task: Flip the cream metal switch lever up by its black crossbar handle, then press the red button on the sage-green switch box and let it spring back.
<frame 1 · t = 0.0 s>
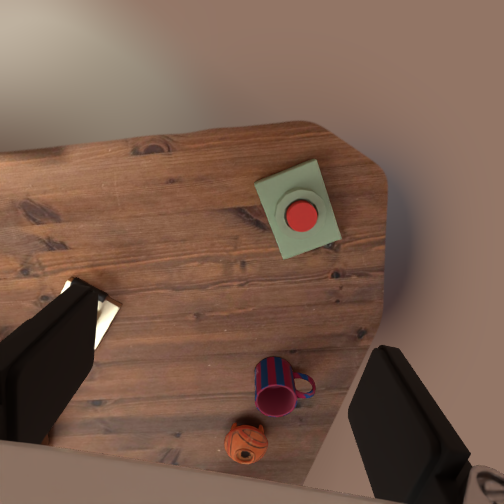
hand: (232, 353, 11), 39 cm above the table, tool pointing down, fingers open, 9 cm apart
switch box: (297, 209, 49), on the table
switch bracket: (83, 315, 55), on the table
cup: (282, 371, 59), on the table
pot: (246, 427, 63), on the table
switch lever: (68, 323, 46), point 8 cm above the table, hinge at -25.0°
button: (301, 216, 45), point 4 cm above the table, slide at 0.1 cm
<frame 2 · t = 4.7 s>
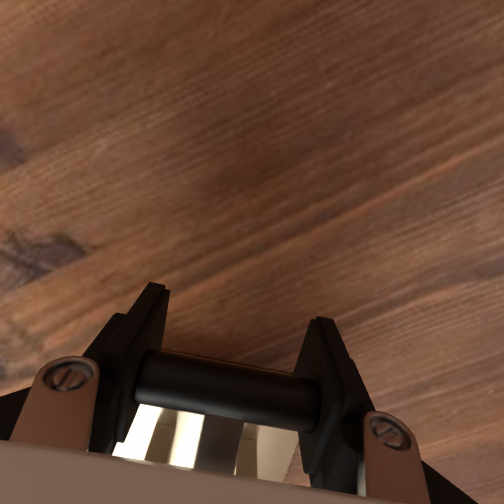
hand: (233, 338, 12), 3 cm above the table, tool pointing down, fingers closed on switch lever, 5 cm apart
switch bracket: (202, 442, 18), on the table
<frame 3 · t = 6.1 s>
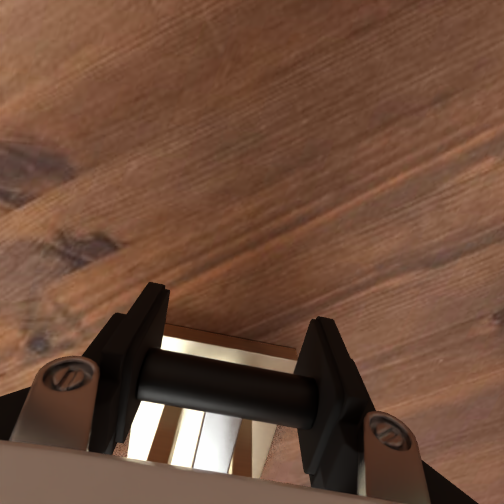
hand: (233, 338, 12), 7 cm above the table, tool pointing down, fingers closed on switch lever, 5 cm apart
switch bracket: (208, 404, 22), on the table
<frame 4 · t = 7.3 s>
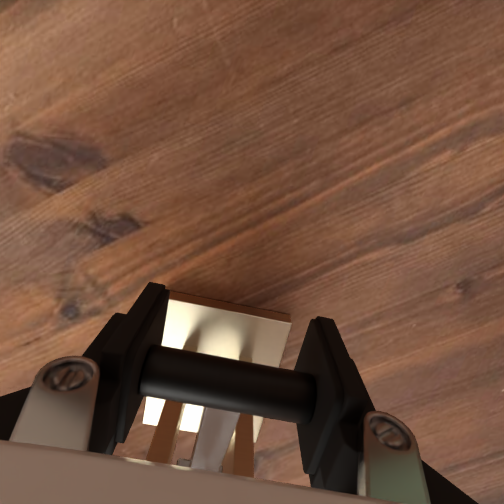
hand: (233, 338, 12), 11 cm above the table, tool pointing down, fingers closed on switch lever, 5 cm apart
switch bracket: (214, 365, 25), on the table
switch lever: (205, 459, 13), point 11 cm above the table, hinge at 17.5°, touching gripper
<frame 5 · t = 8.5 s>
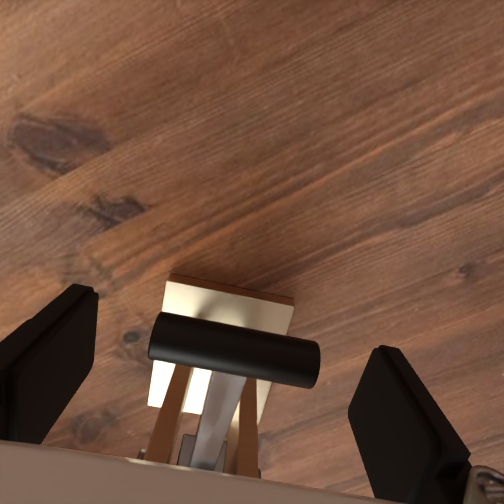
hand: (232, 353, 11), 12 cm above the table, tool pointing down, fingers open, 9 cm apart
switch bracket: (218, 349, 25), on the table
switch lever: (211, 430, 13), point 11 cm above the table, hinge at 16.6°
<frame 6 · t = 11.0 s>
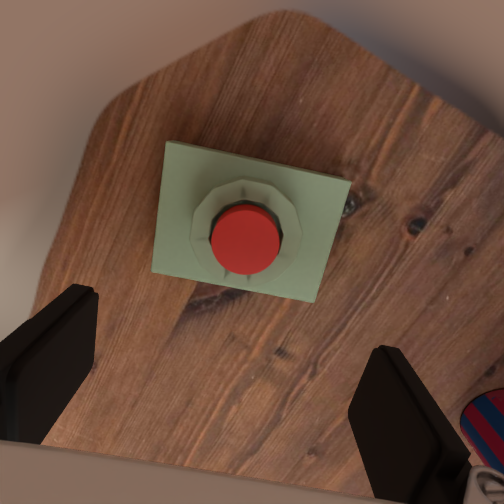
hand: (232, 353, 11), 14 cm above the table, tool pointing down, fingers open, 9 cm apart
switch box: (246, 220, 24), on the table
button: (245, 239, 20), point 4 cm above the table, slide at 0.1 cm
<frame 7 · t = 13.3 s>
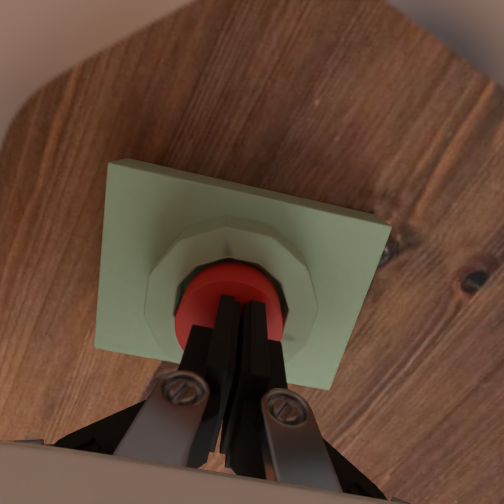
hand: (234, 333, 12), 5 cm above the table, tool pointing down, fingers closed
switch box: (235, 272, 17), on the table
button: (230, 316, 13), point 4 cm above the table, slide at 0.0 cm, touching gripper
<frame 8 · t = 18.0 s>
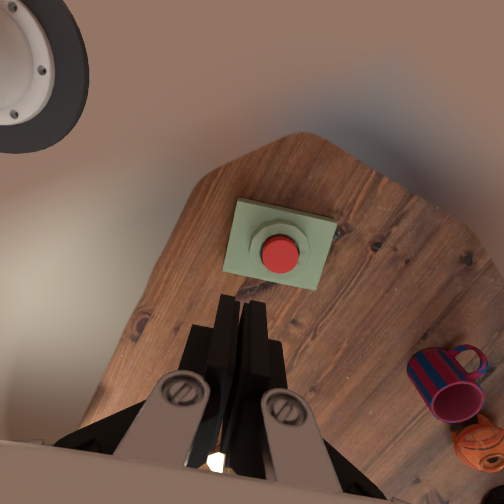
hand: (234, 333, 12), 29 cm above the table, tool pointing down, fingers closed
portable speaker: (502, 498, 58), on the table
switch box: (277, 242, 42), on the table
switch bracket: (242, 465, 55), on the table
cup: (437, 358, 48), on the table
pot: (468, 426, 52), on the table
button: (279, 254, 37), point 4 cm above the table, slide at 0.1 cm
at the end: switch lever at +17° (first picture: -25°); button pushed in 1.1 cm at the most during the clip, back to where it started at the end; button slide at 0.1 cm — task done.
